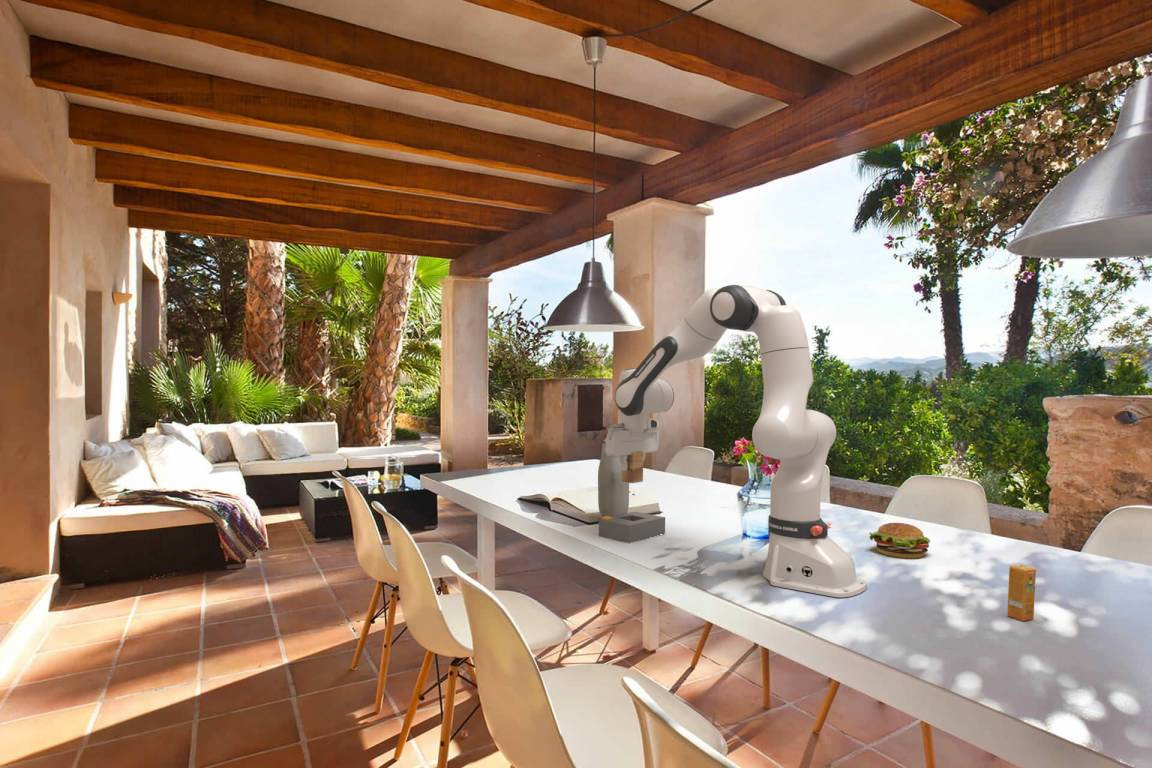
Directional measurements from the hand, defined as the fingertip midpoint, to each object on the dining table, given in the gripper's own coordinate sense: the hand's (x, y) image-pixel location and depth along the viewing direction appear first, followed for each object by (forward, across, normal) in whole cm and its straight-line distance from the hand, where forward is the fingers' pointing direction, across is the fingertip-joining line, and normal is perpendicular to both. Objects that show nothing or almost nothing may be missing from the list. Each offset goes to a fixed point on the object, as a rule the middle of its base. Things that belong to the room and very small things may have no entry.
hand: (632, 469), depth 195 cm
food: (+19, +37, -62) cm, 75 cm away
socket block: (+20, 0, 0) cm, 20 cm away
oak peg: (+4, 0, 0) cm, 4 cm away
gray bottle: (+20, +10, +17) cm, 28 cm away
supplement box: (+19, +4, -97) cm, 99 cm away
